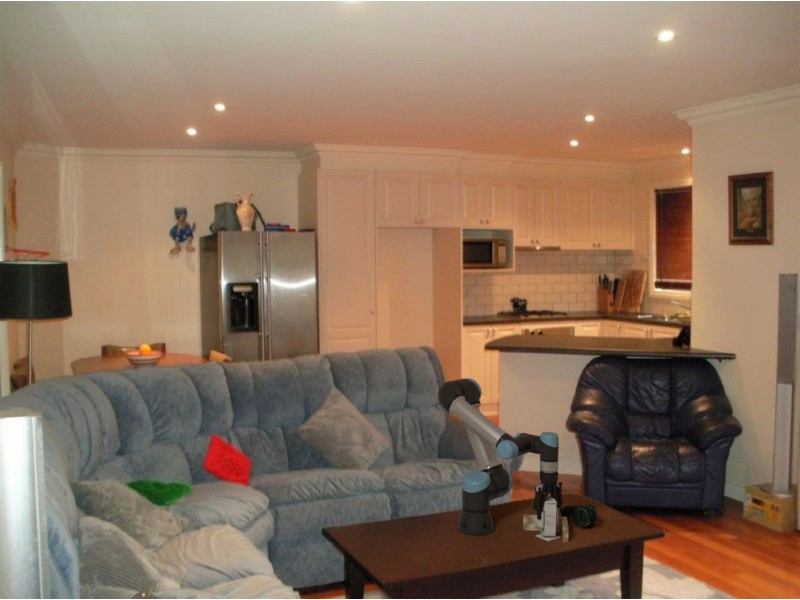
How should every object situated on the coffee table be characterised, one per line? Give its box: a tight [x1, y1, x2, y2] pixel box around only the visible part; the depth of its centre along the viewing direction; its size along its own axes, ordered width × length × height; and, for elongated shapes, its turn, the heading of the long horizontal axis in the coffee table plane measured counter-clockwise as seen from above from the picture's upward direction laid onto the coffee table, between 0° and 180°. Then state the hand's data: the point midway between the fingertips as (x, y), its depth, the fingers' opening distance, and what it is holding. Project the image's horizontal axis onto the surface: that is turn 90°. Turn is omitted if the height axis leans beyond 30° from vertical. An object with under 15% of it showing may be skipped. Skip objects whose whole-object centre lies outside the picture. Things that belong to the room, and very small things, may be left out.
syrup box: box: [539, 496, 557, 536], centre depth 308 cm, size 6×6×14 cm
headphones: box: [559, 502, 598, 529], centre depth 326 cm, size 13×13×20 cm
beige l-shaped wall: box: [522, 514, 569, 543], centre depth 310 cm, size 18×13×6 cm
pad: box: [535, 533, 561, 542], centre depth 308 cm, size 7×7×1 cm
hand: (547, 524), depth 308 cm, fingers closed on syrup box, 8 cm apart
